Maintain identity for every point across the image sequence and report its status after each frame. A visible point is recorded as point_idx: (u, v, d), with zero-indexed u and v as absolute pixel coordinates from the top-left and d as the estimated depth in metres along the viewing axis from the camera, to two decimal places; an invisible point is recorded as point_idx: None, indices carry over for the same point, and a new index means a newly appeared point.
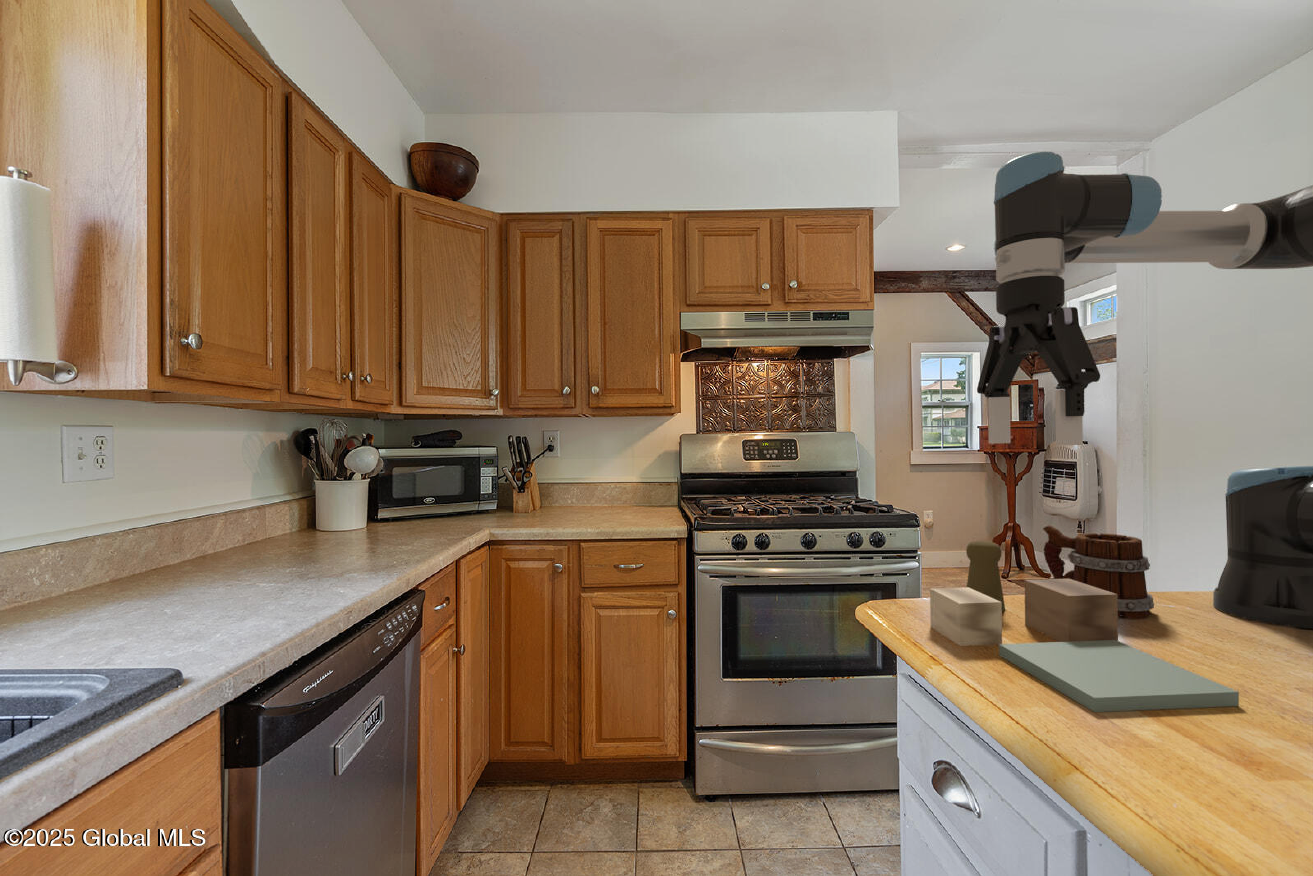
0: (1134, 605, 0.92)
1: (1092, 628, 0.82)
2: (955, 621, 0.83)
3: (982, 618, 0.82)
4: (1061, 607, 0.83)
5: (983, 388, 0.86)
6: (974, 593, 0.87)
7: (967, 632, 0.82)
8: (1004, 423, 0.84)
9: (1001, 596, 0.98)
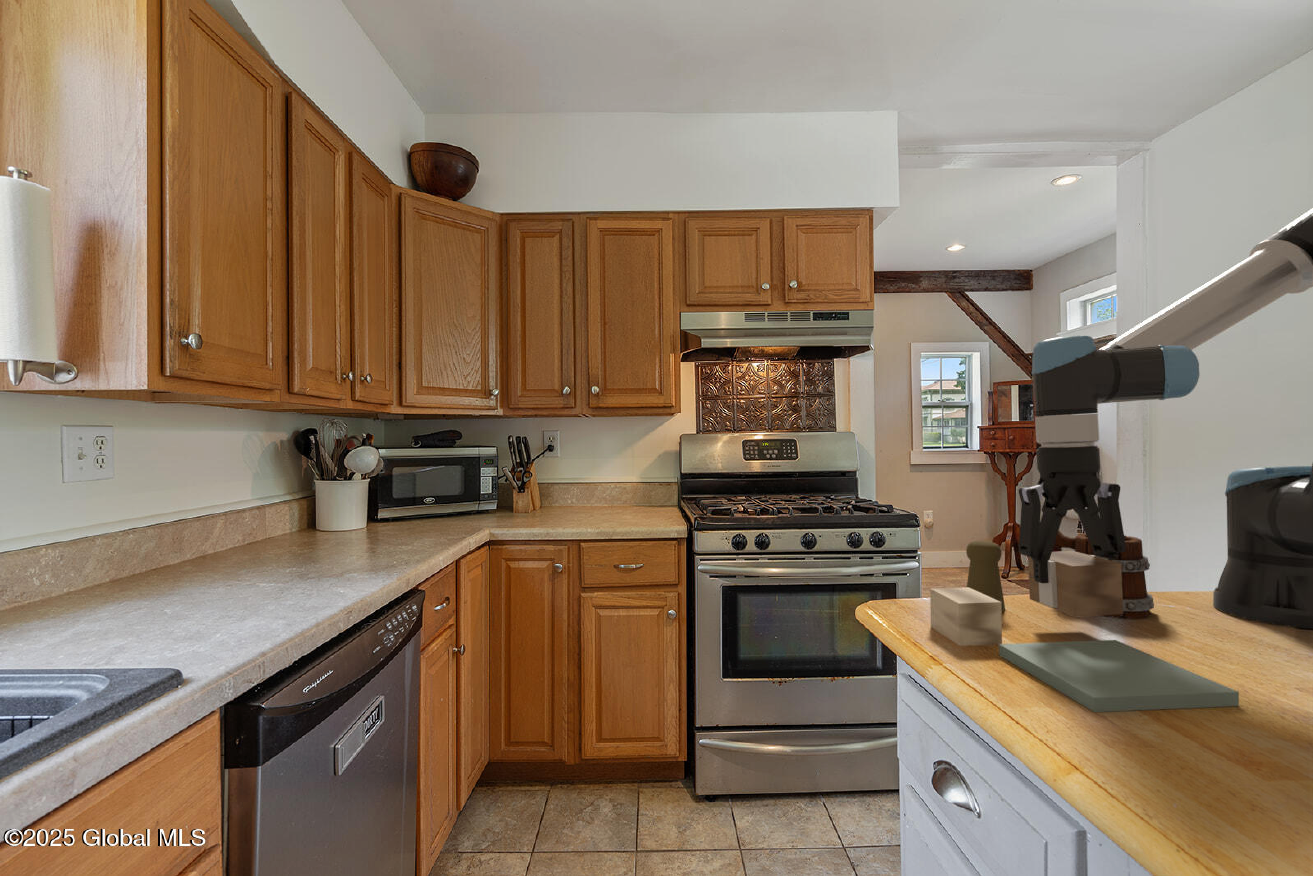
0: (1134, 605, 0.92)
1: (1097, 598, 0.82)
2: (954, 621, 0.83)
3: (981, 618, 0.82)
4: (1065, 578, 0.83)
5: None
6: (974, 593, 0.87)
7: (967, 631, 0.82)
8: None
9: (1001, 596, 0.98)
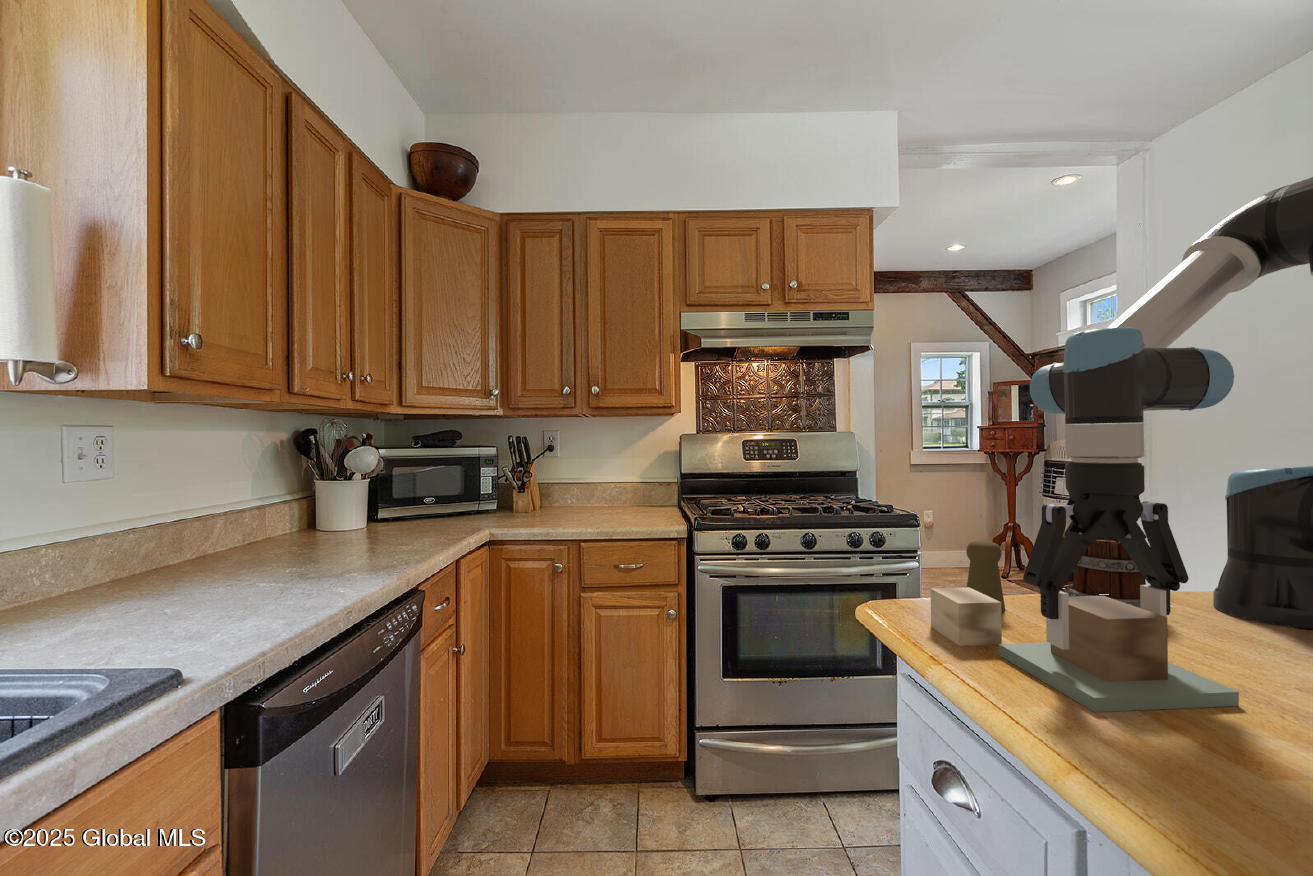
0: (1134, 605, 0.92)
1: (1136, 659, 0.66)
2: (954, 621, 0.83)
3: (981, 618, 0.82)
4: (1098, 633, 0.68)
5: None
6: (974, 593, 0.87)
7: (967, 632, 0.82)
8: None
9: (1001, 596, 0.98)
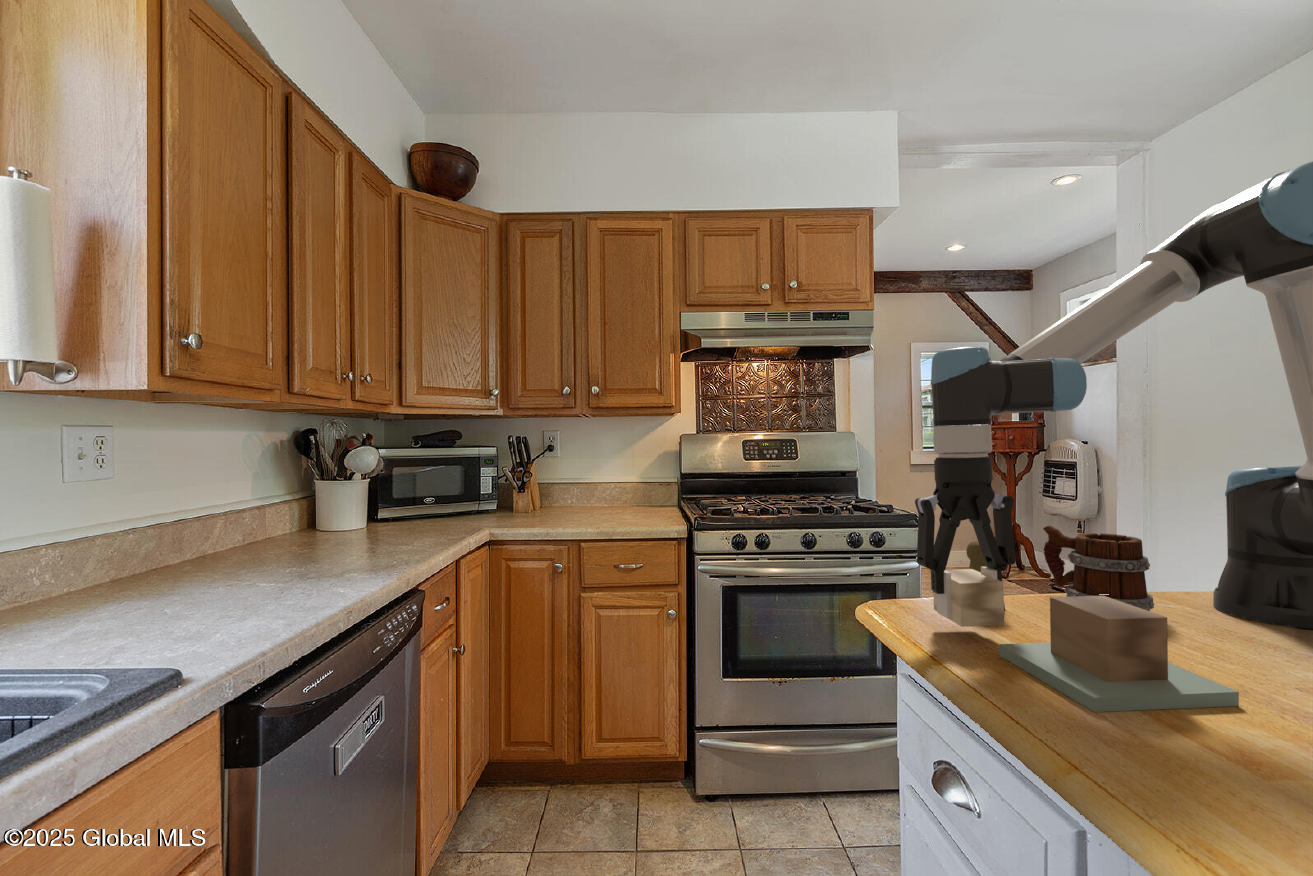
0: (1134, 605, 0.92)
1: (1136, 659, 0.66)
2: (956, 601, 0.83)
3: (983, 598, 0.82)
4: (1098, 633, 0.68)
5: None
6: (977, 574, 0.87)
7: (969, 611, 0.82)
8: None
9: None
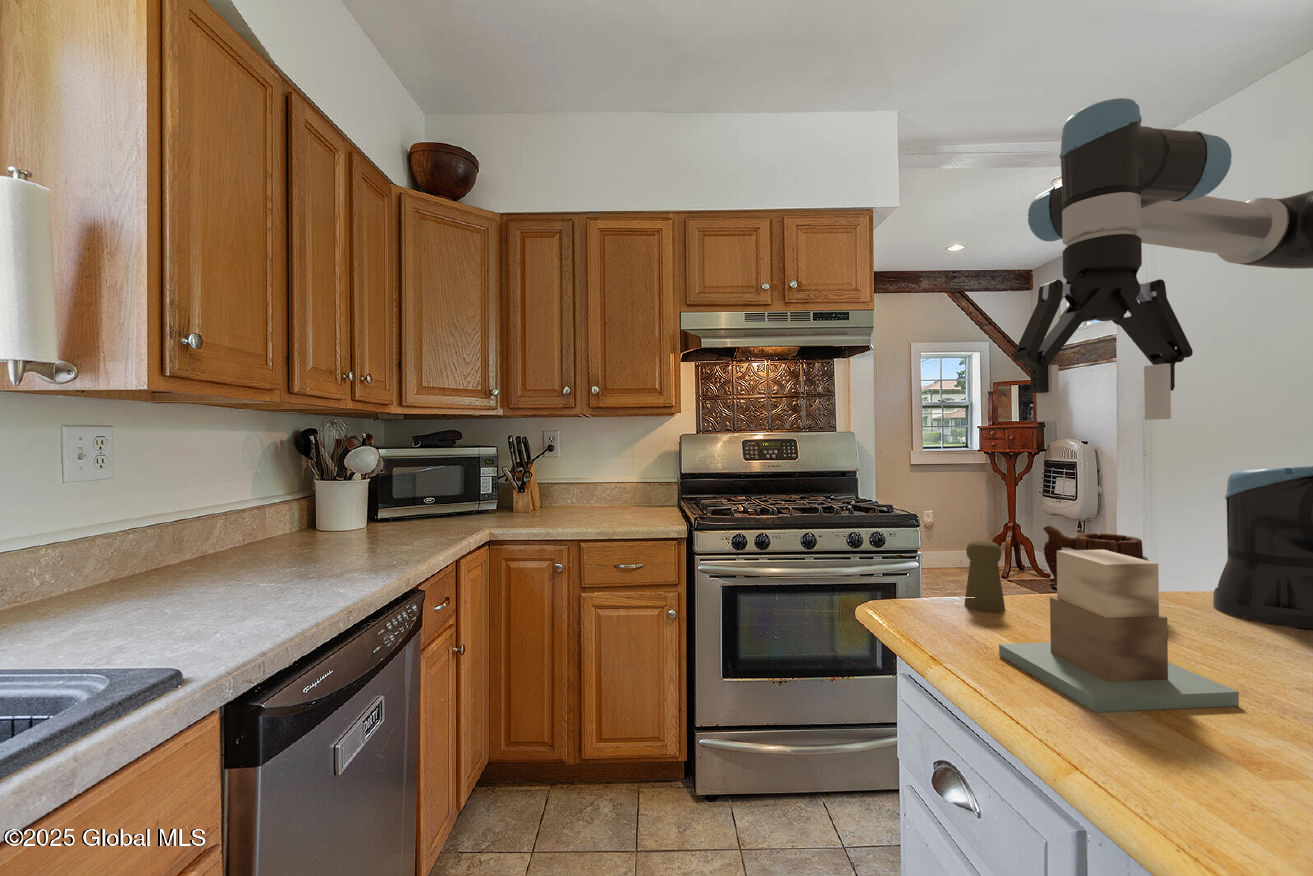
0: None
1: (1136, 659, 0.66)
2: (1098, 587, 0.68)
3: (1133, 582, 0.67)
4: (1098, 633, 0.68)
5: None
6: (1116, 555, 0.71)
7: (1115, 599, 0.67)
8: (1157, 395, 0.70)
9: (1001, 596, 0.98)
